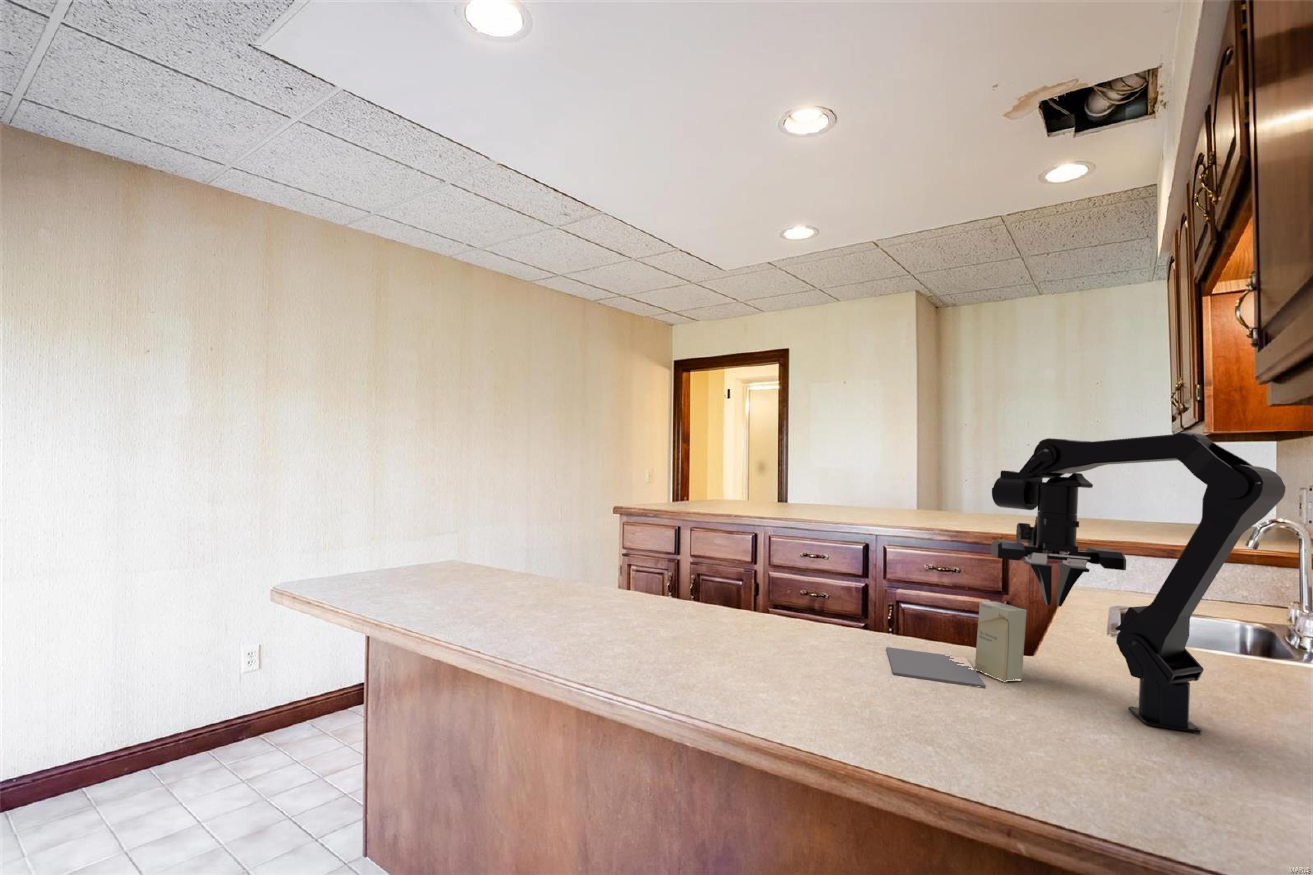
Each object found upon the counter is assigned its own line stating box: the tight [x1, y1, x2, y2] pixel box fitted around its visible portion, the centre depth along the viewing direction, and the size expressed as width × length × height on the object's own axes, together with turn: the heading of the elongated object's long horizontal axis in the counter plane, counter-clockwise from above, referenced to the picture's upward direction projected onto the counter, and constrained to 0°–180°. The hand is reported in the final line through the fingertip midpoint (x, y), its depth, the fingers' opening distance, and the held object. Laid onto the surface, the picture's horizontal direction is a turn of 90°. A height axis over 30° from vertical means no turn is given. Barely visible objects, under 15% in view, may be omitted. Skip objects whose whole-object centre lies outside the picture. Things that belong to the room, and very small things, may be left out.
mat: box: [885, 646, 987, 688], centre depth 111 cm, size 16×14×1 cm
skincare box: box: [974, 601, 1027, 681], centre depth 109 cm, size 6×4×12 cm
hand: (1053, 605), depth 107 cm, fingers closed
